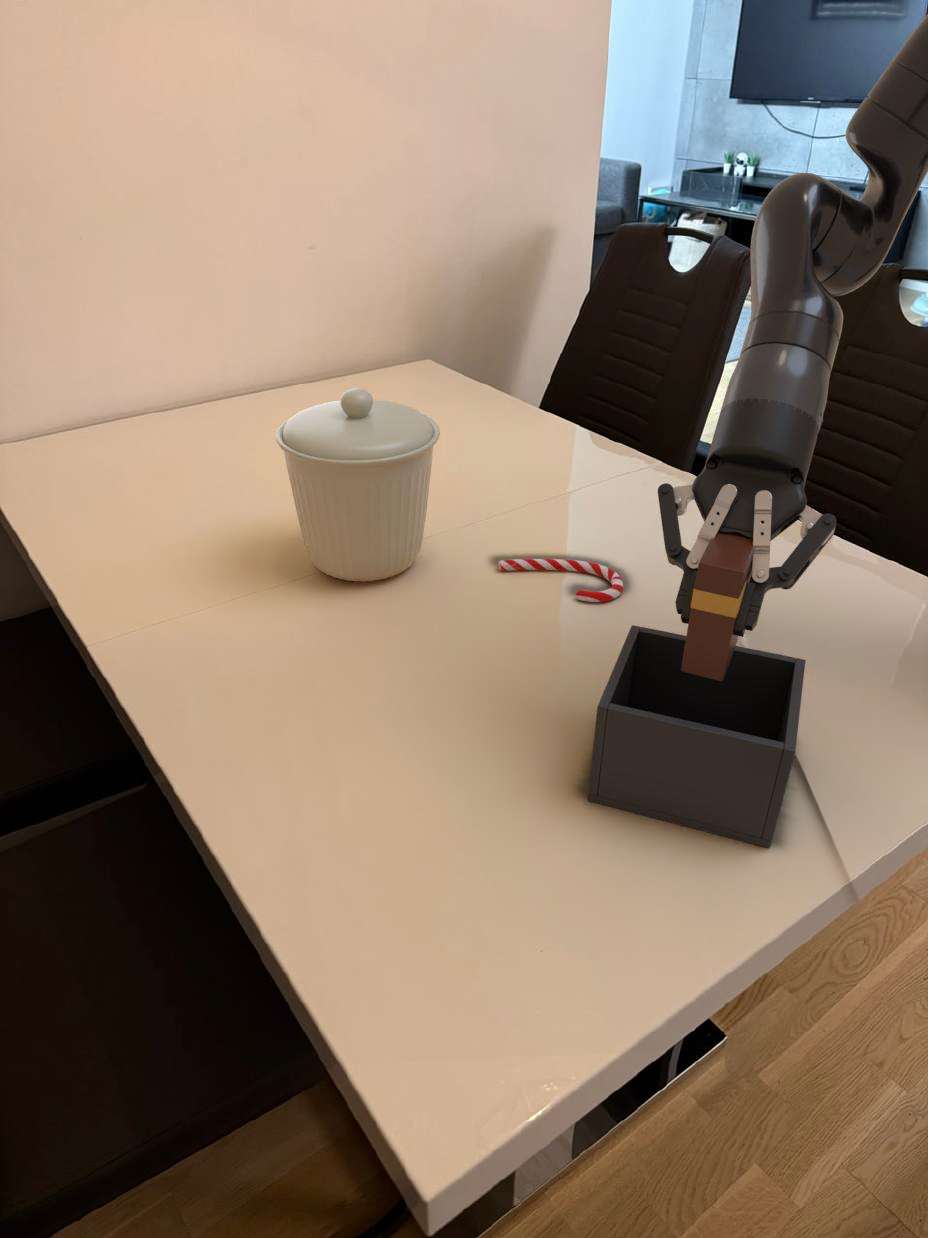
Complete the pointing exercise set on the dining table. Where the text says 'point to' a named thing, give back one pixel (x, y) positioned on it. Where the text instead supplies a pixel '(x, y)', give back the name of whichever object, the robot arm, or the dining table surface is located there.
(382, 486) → the canister
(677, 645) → the waste bin
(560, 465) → the dining table surface
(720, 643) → the chocolate box
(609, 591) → the candy cane
